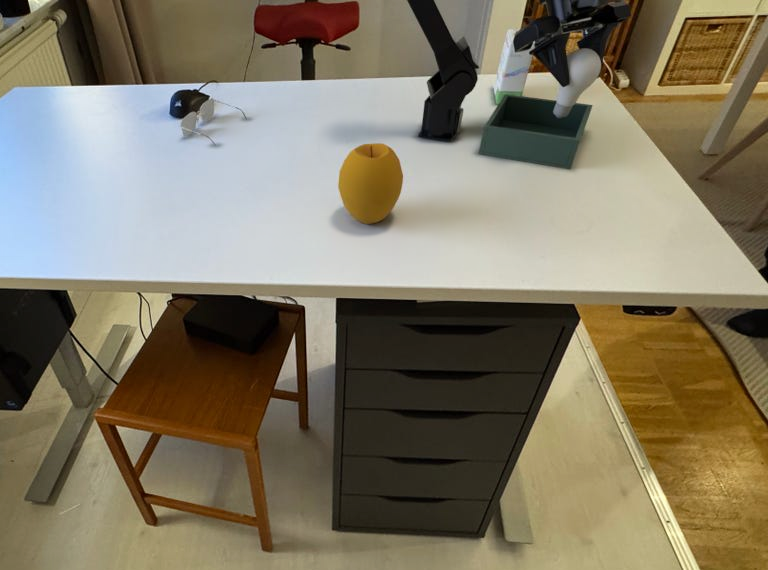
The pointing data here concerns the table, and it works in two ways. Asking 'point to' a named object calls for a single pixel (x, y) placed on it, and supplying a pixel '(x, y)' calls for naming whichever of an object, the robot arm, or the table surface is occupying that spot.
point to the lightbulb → (577, 79)
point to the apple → (370, 182)
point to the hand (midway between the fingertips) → (581, 82)
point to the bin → (534, 131)
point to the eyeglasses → (190, 120)
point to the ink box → (512, 69)
